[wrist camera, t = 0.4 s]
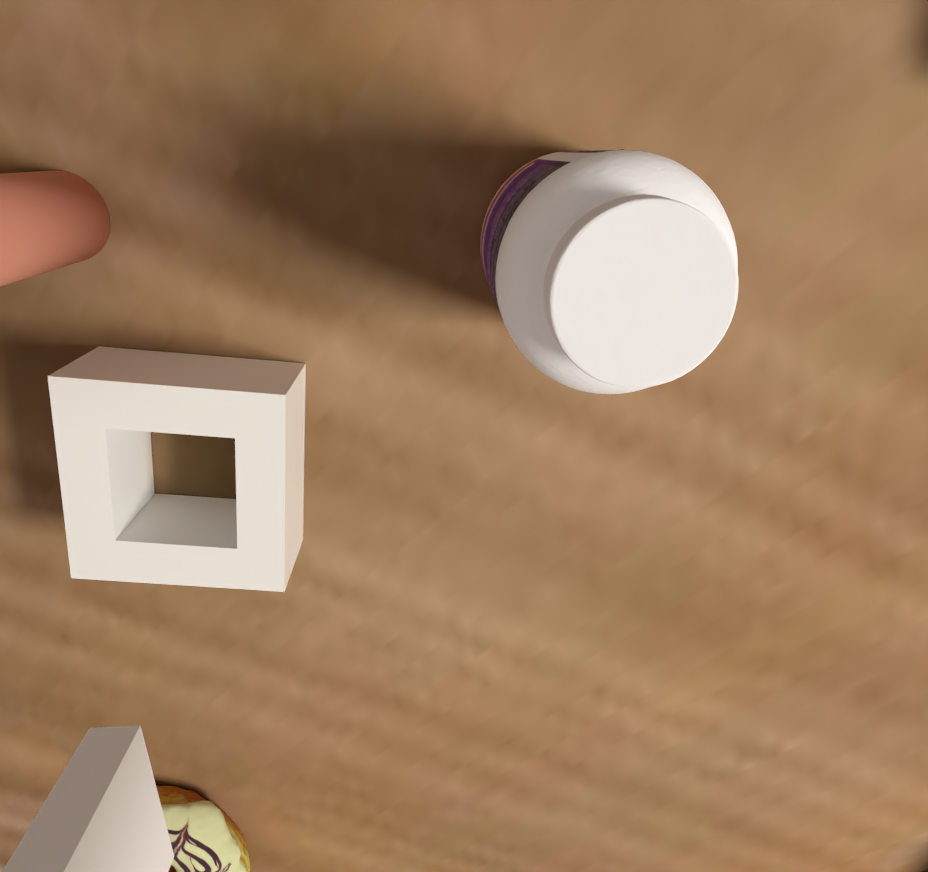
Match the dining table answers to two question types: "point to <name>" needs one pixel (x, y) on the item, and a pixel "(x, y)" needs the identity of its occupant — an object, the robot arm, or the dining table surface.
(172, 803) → the decorated donut
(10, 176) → the peg
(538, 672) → the dining table surface
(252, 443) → the socket block
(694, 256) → the pill bottle
